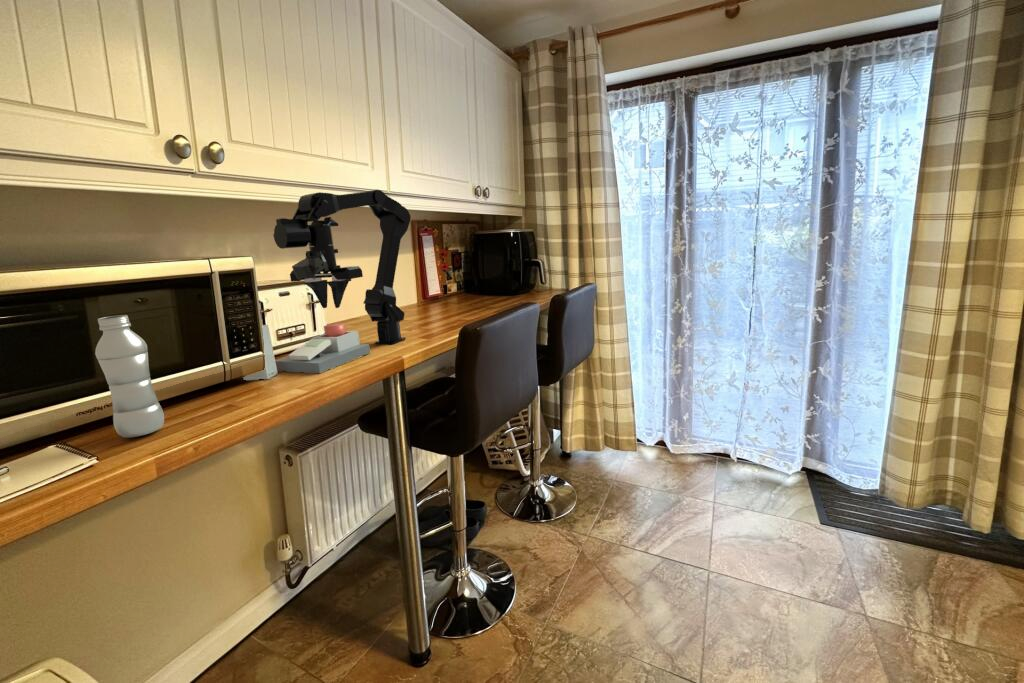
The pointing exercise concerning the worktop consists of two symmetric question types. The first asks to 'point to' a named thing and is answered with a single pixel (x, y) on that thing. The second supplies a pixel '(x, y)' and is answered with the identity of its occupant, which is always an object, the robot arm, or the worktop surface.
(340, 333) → the breaker button
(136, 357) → the plastic bottle
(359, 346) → the grey switch base
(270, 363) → the grey tapered stand
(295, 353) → the rocker switch
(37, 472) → the worktop surface
